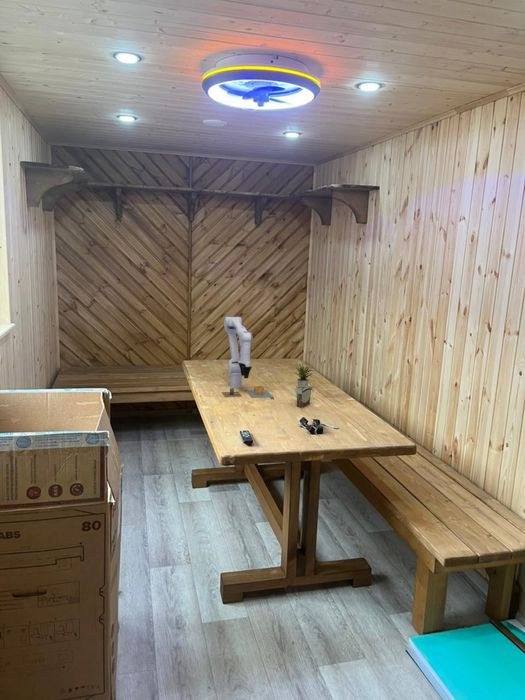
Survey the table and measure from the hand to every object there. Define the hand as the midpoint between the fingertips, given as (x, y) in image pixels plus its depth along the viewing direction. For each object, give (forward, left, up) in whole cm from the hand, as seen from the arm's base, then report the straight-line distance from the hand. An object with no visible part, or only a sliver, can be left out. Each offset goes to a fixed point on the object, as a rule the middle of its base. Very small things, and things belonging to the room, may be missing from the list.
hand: (244, 376), depth 314 cm
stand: (+4, -8, -10) cm, 14 cm away
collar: (+4, +8, -9) cm, 13 cm away
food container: (+27, +26, -11) cm, 39 cm away
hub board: (+4, +8, -10) cm, 14 cm away
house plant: (-7, +38, -11) cm, 40 cm away
